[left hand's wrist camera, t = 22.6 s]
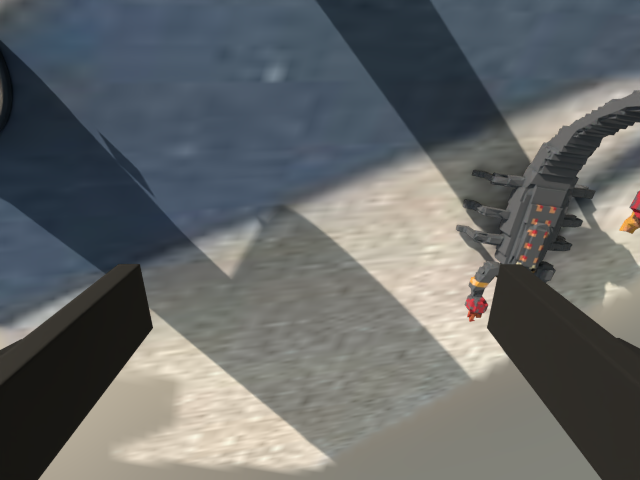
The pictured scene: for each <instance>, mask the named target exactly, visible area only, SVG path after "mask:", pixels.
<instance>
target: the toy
mask: <svg viewBox="0 0 640 480" xmlns="http://www.w3.org/2000/svg"><path fill="white" fill-rule="evenodd" d="M635 122H640V91H634V92H633V93H632V94H631V95H629V96H627V97H625V98H622V99H612V100H611V101H609V102H608V103H605V105H604V106H603V107H598V110H592V112H591V114H586V115H585V117H582V118H581V119H579V120H576V121H575V122H574V123H573V124H571V125H570V126H563V127H562V129H559V132H558V135H555V138H552V139H551V140H550V141H549V142H547V143H543V145H542V146H541V148H540V149H539V151H538V153H537V155H536V157H535V158H534V160H533V162H532V163H531V164H530V165H529V166H528V167H527V169H526V171H525V173H524V175H523V176H514V175H503V174H498V173H493V174H490V173H487V172H483V171H476V170H473V174H472V175H474V176H478V177H482V178H485V179H487V180H490V181H491V184H495V185H503V186H507V187H516V188H515V189H513V190H512V193H511V195H510V198H509V201H508V203H509V205H508V207H507V209H506V210H504V209H499V208H493V207H488V206H483V205H481V204H480V203H478V202H476V201H472V200H465V201H464V204H463V207H464V208H468V209H472V210H475V211H477V212H479V213H480V214H482V215H485V216H490V217H497V218H502V221H501V224H500V226H499V229H500V230H502V231H501V234H491V233H486V232H481V231H476V230H473V229H472V228H470V227H469V226H462V225H457V227H456V230H457V231H460V232H465V233H467V234H468V235H469V236H470V237H471V238H473V240H474V241H475V242H480V243H485V244H491V245H497V246H496V249H497V250H496V253H495V258H496V259H497V260H498V261H500V262H501V263H500V264H522V265H523V266H524V267H526V268H527V269H528V270H529V271H531V272H532V273H533V274H535V275H536V276H537V277H538V278H540V279H541V280H542V281H543V282H545V283H546V282H547V281H550V280H551V278H552V276H553V275H554V273H555V271H556V270H555V269H554V268H553V265H551V264H549V263H548V262H544V261H542V260H543V258H544V256H545V254H546V252H547V250H552V251H567V250H570V247H571V246H572V244H571V243H568V242H566V241H565V238H564V237H559V236H558V233H559V230H560V228H561V227H566V226H567V227H579V226H581V224H582V222H583V221H582V220H581V219H579V218H576V217H577V216H575V215H572V214H566V212H567V209H568V204H569V202H570V199H571V197H572V196H574V197H582V198H590V199H592V198H593V196H594V194H595V191H594V190H590V189H588V188H589V187H586V186H580V185H576V183H577V181H578V179H579V178H577V177H576V175H577V173H578V172H579V171H580V170H581V169H582V167H583V165H585V164H586V161H587V159H588V157H590V156H591V155H592V154H593V152H594V151H595V150H596V148H597V147H599V146H600V143H601V141H602V139H603V137H606V136H608V135H614V134H615V133H616V132H618V131H619V129H626V128H627V127H628V126H633V124H634V123H635ZM629 208H631V209H632V210H633V212H632V215H631V216H630V217H629V218H627V219H626V220H625V221H624V223H623V225H622V226H621V228H620V231H626V232H629V233H631V234H633V232H634V231H635V230H636V229H638V228H640V191H638V192H637V195H636V197H635V198H634V200H633V202H632V204H631V206H630V207H629ZM500 264H499V263H498V262H492V261H487V262H486V263H484V266H483V267H480V268H479V270H478V272H476V275H475V276H474V277H471V280H470V283H469V287H470V288H471V294H470V296H468V297H467V300H466V303H465V306H466V307H467V309H468V310H469V312H468V316H467V317H469V322H471V321H475V320H473V319H474V317H475V316H476V318H481V315H482V313H484V312H485V311H486V309H487V307H488V304H487V302H486V300H485V299H484V298H483V297H482V294H483V292H484V289H485V288H486V287H487V285H488V284H489V283H490V282H491V281H492V279H493V278H494V277H495V276H496V277H498V272H499V268H500Z"/></svg>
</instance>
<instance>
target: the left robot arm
mask: <svg viewBox="0 0 640 480" xmlns="http://www.w3.org/2000/svg"><path fill="white" fill-rule="evenodd" d="M11 105H12V87H11V81H10V76H9V72H8V69H7V66H6V63H5V61H4V59H3V56H2V54H1V52H0V131H1V130H2V129H3V127H4V126H5V124H6V122H7V120H8V117H9V114H10V110H11ZM152 329H153V325H152V321H151V316H150V311H149V306H148V301H147V297H146V292H145V287H144V282H143V277H142V272H141V268H140V264H118V265H117V266H116V267H114V268H113V269H112V270H111V271H109V272H108V273H107V274H105V275H104V276H103V277H102V278H100V279H99V280H98V281H97V282H95V283H94V284H93V285H91V286H90V287H89V288H88V289H86V290H85V291H84V292H82V293H81V294H80V295H79V296H77V297H76V298H75V299H73V300H72V301H71V302H70V303H68V304H67V305H66V306H64V307H63V308H62V309H61V310H59V311H58V312H57V313H55V314H54V315H53V316H52V317H50V318H49V319H48V320H46V321H45V322H44V323H43V324H41V325H40V326H39V327H38V328H36V329H35V330H34V331H32V332H31V333H30V334H29V335H27V336H26V337H25V338H23V339H21V340H19V341H17V342H15V343H13V344H11V345H9V346H7V347H5V348H3V349H1V350H0V480H38V479H39V478H40V476H41V475H42V474H43V472H44V471H45V470H46V469H47V467H48V466H49V464H50V463H51V462H52V461H53V459H54V458H55V457H56V455H57V454H58V453H59V451H60V450H61V449H62V447H63V446H64V445H65V443H66V442H67V441H68V439H69V438H70V437H71V435H72V434H73V433H74V432H75V430H76V429H77V428H78V426H79V425H80V424H81V422H82V421H83V419H84V418H85V417H86V416H87V414H88V413H89V412H90V410H91V409H92V408H93V406H94V405H95V404H96V402H97V401H98V400H99V399H100V397H101V396H102V395H103V393H104V392H105V391H106V389H107V388H108V387H109V385H110V384H111V383H112V381H113V380H114V379H115V377H116V376H117V375H118V373H119V372H120V371H121V369H122V368H123V367H124V365H125V364H126V363H127V362H128V360H129V359H130V358H131V356H132V355H133V354H134V352H135V351H136V350H137V348H138V347H139V346H140V344H141V343H142V342H143V340H144V339H145V338H146V336H147V335H148V334H149V332H150V331H151V330H152ZM487 329H488V330H489V331H490V332H491V334H492V335H493V336H494V338H495V339H496V340H497V342H498V343H499V344H500V346H501V347H502V348H503V350H504V351H505V352H506V354H507V355H508V356H509V358H510V359H511V360H512V362H513V363H514V364H515V365H516V367H517V368H518V369H519V371H520V372H521V373H522V375H523V376H524V377H525V379H526V380H527V381H528V383H529V384H530V385H531V387H532V388H533V389H534V391H535V392H536V393H537V395H538V396H539V397H540V399H541V400H542V401H543V402H544V404H545V405H546V406H547V408H548V409H549V410H550V412H551V413H552V414H553V416H554V417H555V418H556V420H557V421H558V422H559V424H560V425H561V426H562V428H563V429H564V430H565V431H566V433H567V434H568V436H569V437H570V438H571V439H572V441H573V442H574V443H575V445H576V446H577V447H578V449H579V450H580V451H581V453H582V454H583V455H584V457H585V458H586V459H587V461H588V462H589V463H590V465H591V466H592V467H593V468H594V470H595V471H596V472H597V474H598V475H599V476H600V478H601V479H602V480H640V348H638V347H636V346H634V345H632V344H630V343H628V342H626V341H624V340H622V339H620V338H615V337H614V336H613V335H611V334H610V333H609V332H608V331H606V330H605V329H604V328H602V327H601V326H600V325H599V324H597V323H596V322H595V321H593V320H592V319H591V318H590V317H588V316H587V315H586V314H585V313H583V312H582V311H581V310H579V309H578V308H577V307H576V306H574V305H573V304H572V303H570V302H569V301H568V300H567V299H565V298H564V297H563V296H561V295H560V294H559V293H558V292H556V291H555V290H554V289H552V288H551V287H550V286H549V285H547V284H546V283H545V282H543V281H542V280H541V279H540V278H538V277H537V276H536V275H535V274H533V273H532V272H531V271H529V270H528V269H527V268H526V267H524V266H523V265H522V264H500V268H499V272H498V277H497V282H496V287H495V292H494V297H493V301H492V306H491V311H490V316H489V321H488V325H487Z"/></svg>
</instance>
